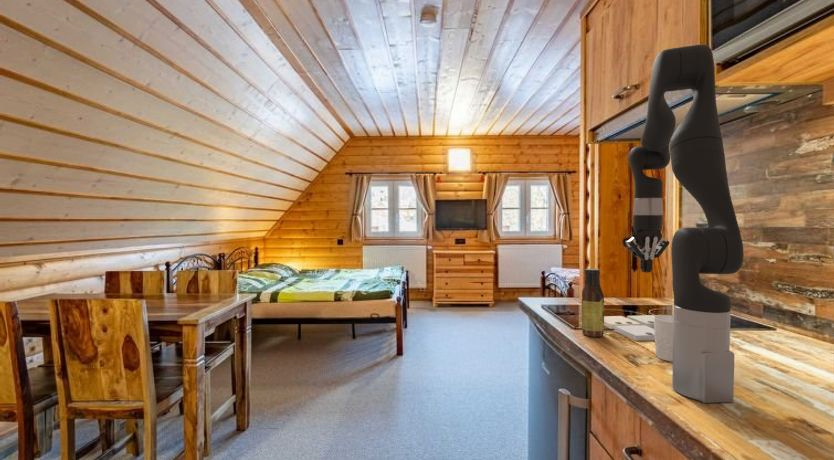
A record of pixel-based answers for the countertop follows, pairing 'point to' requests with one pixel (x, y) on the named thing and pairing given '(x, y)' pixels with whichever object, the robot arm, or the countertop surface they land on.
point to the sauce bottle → (592, 305)
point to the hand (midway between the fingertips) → (646, 272)
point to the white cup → (664, 336)
